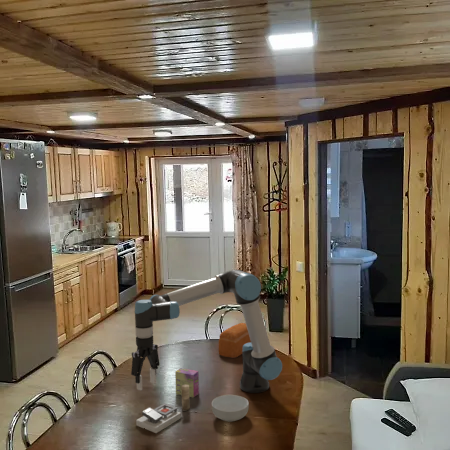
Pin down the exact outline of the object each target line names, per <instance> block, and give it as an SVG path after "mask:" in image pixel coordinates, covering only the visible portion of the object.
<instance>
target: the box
mask: <svg viewBox="0 0 450 450" xmlns="http://www.w3.org/2000/svg"><path fill="white" fill-rule="evenodd" d="M174 373H175V395H180V396H182V390H181V386H182V385H189V398H195V397H196V396H197V395H199V394H198V393H199V391H200V386H199V385H200V383H199V381H200V380H199V376H200V375H199V371H198V370H193V369H188V368H182V367H180V368H179V369H178V370H176V371H175V372H174Z"/></svg>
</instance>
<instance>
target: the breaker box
mask: <svg viewBox="0 0 450 450" xmlns="http://www.w3.org/2000/svg"><path fill="white" fill-rule="evenodd" d="M152 409H153V410H154V411H156V412H158V413H159V414H162V416H163V415H164V416H163V417H162V419H161V420H160V421H158V422H156V423H154V422H153V421H151V420H150V419H148V418H147V417H145V416H144V415H142V416H141V417H139V418H137V419H136V426H137V427H140V428H142V429H144V428H145V430H147V431H150V432H152V433H155V434H157V433H159V432H161V431H162V430H163V429H166V428H167V427H169V426H170V425H172V424H173V423H175V422H177V421H179V420H180V419H182V412H180V411H178V409H179V408H178V407H177V406H173V405H171V404H167V403H162V404H160V405H159V406H157V407H155V408H152ZM162 409H169V411H167V412H166V413H165V412H162V411H161V410H162ZM169 413H170V414H169ZM168 414H169V415H168Z"/></svg>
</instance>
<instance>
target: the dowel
mask: <svg viewBox="0 0 450 450" xmlns="http://www.w3.org/2000/svg"><path fill="white" fill-rule="evenodd" d="M181 390H182V395H181V410H182V411H189V410H190V408H191V407H190V406H191V405H190V403H191V401H190V397H189V385H182V386H181Z"/></svg>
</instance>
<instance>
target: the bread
mask: <svg viewBox="0 0 450 450" xmlns="http://www.w3.org/2000/svg"><path fill="white" fill-rule="evenodd" d="M250 342H251V340H250V337H249V333H248V329H247V326H246V322H240V323H238V324H234V325H232V326H230V327H228V328H226V329H225V330H223V331H222V332H221V333H220V334H219V339H218V349H217V350H218V355H219V356H222V357H224V358H232V359H235V358H238V357H240V356H241V355H243V353H242V350H243V345H244V344H246V343H250Z"/></svg>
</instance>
